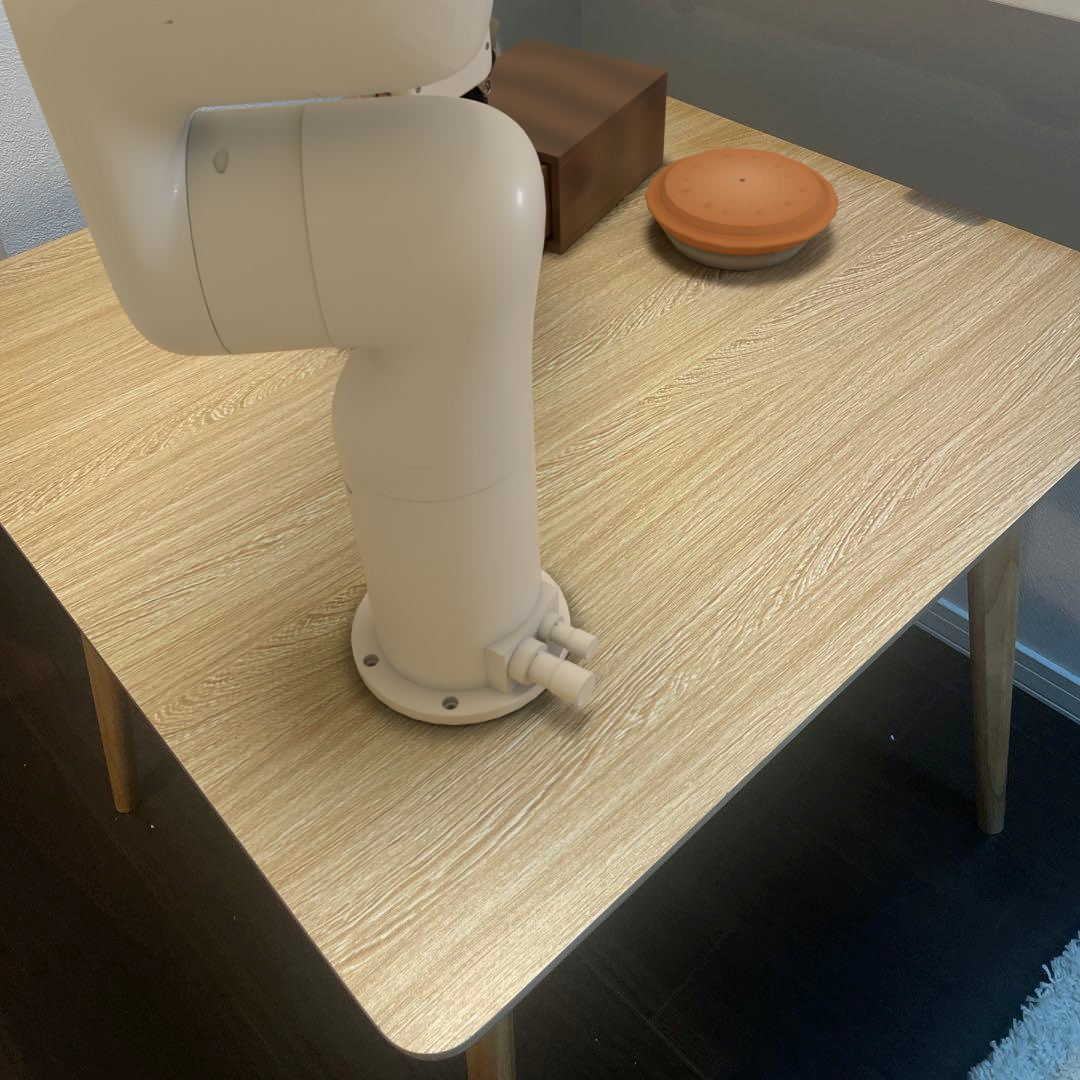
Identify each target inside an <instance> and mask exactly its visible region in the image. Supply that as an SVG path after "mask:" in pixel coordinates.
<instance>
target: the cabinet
mask: <svg viewBox="0 0 1080 1080" xmlns="http://www.w3.org/2000/svg"><path fill="white" fill-rule="evenodd" d="M668 74H669V71H668V70H666V69H662V68H660V67H659V68H658V67H654V66H650V65H645V64H642V63H638V62H637V63H636V62H634V61H629V60H624V59H620V58H616V57H612V56H608V55H603V54H599V53H595V52H591V51H587V50H582V49H578V48H575V47H570V46H567V45H566V46H565V45H561V44H557V43H553V42H549V41H544V40H540V39H536V38H531V37H527V36H526V37H525V38H524V39H522V40H521V41H519V42H517V43H516V44H514V45H513V46H512V47H510V48H508V49H507V50H506V51H504V52H503V53H501V54H499V55H498V56H496V60H495V63H494V66H493V68H492V71H491V74H490V77H489V78H490V80H491V82H492V88H491V91H490V93H489V94H488V95H484V96H485V97H488V105H489V106H491V107H494V108H496V109H498V110H499V111H501V112H503V113H504V114H506V115H507V116H509V117H510V118H511V119H513V120H514V121H515V122H516V123H517V124H518V125H519V126H520V127H521V128H522V129H523V130H524V132H525V133H526V135H527V136H528V138H529V139H530V141H531V142H532V144H533V146H534V148H535V150H536V153H537V156H538V159H539V161H542V162H545V163H549V164H551V189H552V225H553V233H551V234H550V235H549V236H548V237H547V238H546V239H544V246H543V250H547V251H549V252H554V253H556V254H559V255H562V254H563V253H564V252H565V251H566V250H568V249H569V248H570V247H571V246H572V245H573V244H574V243H575V242H576V241H578V240H579V239H580V238H581V237H582V236H583V235H585V233H586V232H588V231H589V230H590V229H591V228H592V227H593V226H594V225H596V224H597V223H598V222H599V221H600V220H601V219H603V217H605V216H606V215H607V214H608V213H610V211H611V210H612V209H613V208H615V207H616V206H617V205H618V204H619V203H621V202H622V201H623V200H625V198H626V197H627V196H628V195H629V194H631V192H633V191H634V190H635V189H636V188H637V187H638V186H640V185H641V184H642V183H644V181H645V180H647V179H648V178H649V177H650V176H651V175H652V174H654V173H655V171H656V170H657V169H659V168H660V167H662V165H663V164H664V153H665V152H664V151H665V132H666V115H667V95H668V93H667V92H668V77H669V76H668Z"/></svg>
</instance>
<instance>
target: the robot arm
mask: <svg viewBox="0 0 1080 1080" xmlns="http://www.w3.org/2000/svg"><path fill="white" fill-rule="evenodd" d="M1 3H2V6H3V10H4V13H5V16H6V18H7V22H8V24H9V26H10V31H11V33H12V36H13V38H14V42H15V44H16V48H17V50H18V52H19V56H20V59H21V61H22V64H23V66H24V69H25V72H26V74H27V77H28V80H29V81H30V84H31V87H32V89H33V91H34V94H35V97H36V99H37V102H38V103H39V107H40V110H41V112H42V115H43V117H44V119H45V122H46V124H47V127H48V129H49V133H50V135H51V137H52V140H53V143H54V145H55V147H56V150H57V152H58V155H59V157H60V160H61V162H62V166H63V167H64V170H65V172H66V175H67V178H68V180H69V182H70V185H71V187H72V190H73V193H74V195H75V198H76V201H77V202H78V205H79V208H80V210H81V213H82V215H83V218H84V220H85V222H86V225H87V227H88V230H89V233H90V235H91V238H92V240H93V243H94V245H95V248H96V250H97V253H98V256H99V258H100V261H101V263H102V265H103V268H104V270H105V272H106V275H107V277H108V280H109V283H110V284H111V287H112V290H113V291H114V293H115V295H116V298H117V300H118V302H119V304H120V306H121V308H122V309H123V311H124V313H125V314H126V316H127V317H128V319H129V321H130V323H131V324H132V326H133V327H134V328H135V329H136V331H138V333H139V334H140V335H141V337H143V338H145V339H146V341H148V342H149V343H150V344H153V345H154V346H156V347H157V348H159V349H161V350H163V351H166V352H168V353H172V354H175V355H181V356H188V357H219V356H234V355H236V356H240V355H253V354H267V353H279V352H294V351H306V350H319V349H331V348H332V349H333V348H335V349H337V350H338V349H340V350H341V349H352V350H351V352H350V353H349V355H348V357H347V359H346V361H345V363H344V365H343V367H342V369H341V371H340V374H339V376H338V378H337V381H336V385H335V388H334V393H333V397H332V402H331V415H330V416H331V420H330V422H331V432H332V438H333V442H334V447H335V451H336V455H337V459H338V463H339V468H340V472H341V477H342V482H343V485H344V491H345V495H346V500H347V504H348V508H349V509H348V510H349V513H350V517H351V522H352V527H353V532H354V536H355V540H356V544H357V549H358V554H359V559H360V563H361V568H362V573H363V575H364V580H365V586H366V590H367V591H366V593H365V594H364V596H363V597H362V599H361V601H360V603H359V604H358V606H357V608H356V611H355V614H354V617H353V620H352V623H351V632H350V633H351V635H350V642H351V648H352V655H353V659H354V663H355V665H356V669H357V672H358V674H359V675H360V677H361V679H362V681H363V682H364V684H365V686H366V687H367V689H368V690H369V691H370V692H371V693H372V695H374V696H375V697H376V698H377V699H378V700H379V701H380V702H382V703H383V704H385V705H386V706H387V707H389V708H391V710H393V711H395V712H397V713H399V714H402V715H403V716H406V717H409V718H411V719H414V720H418V721H421V722H426V723H430V724H435V725H451V726H453V725H454V726H459V725H469V724H470V725H471V724H479V723H483V722H487V721H490V720H494V719H498V718H501V717H503V716H505V715H508V714H510V713H512V712H515V711H517V710H519V709H521V708H523V707H524V706H525V705H527V704H528V703H530V702H531V701H534V700H535V699H536V698H538V696H539V695H540V694H541V693H543V692H544V691H545V690H546V689H547V690H548V691H549V692H550V693H551V694H553V695H554V696H557V697H559V698H561V699H563V700H565V701H566V702H569V703H571V704H572V705H574V706H576V707H578V708H581V707H582V706H584V705H585V704H586V703H587V702H588V700H589V699H590V697H591V695H592V694H593V691H594V688H595V686H596V682H597V676H596V674H595V673H594V672H592V671H590V670H588V669H586V668H584V667H582V666H580V665H578V664H575V663H573V662H571V661H570V660H567V659H566V658H567V656H568V654H569V653H570V654H572V655H575V656H577V657H579V658H580V659H583V660H585V661H589V660H590V659H591V658H592V657H593V656H594V655H595V653H596V651H597V649H598V647H599V640H600V639H599V638H598V636H595V635H594V634H592V633H589V632H588V631H585V630H583V629H581V628H579V627H578V628H576V627H574V626H572V625H571V616H570V611H569V606H568V601H567V600H566V598H565V596H564V594H563V591H562V589H561V587H560V586H559V585H558V584H557V583H556V582H555V580H554V579H553V577H552V576H551V575H550V574H549V573H548V572H547V571H545V570H544V569H543V568H542V562H541V544H540V543H541V541H540V524H539V505H538V504H539V503H538V482H537V481H538V480H537V466H536V465H537V463H536V462H537V461H536V443H535V420H534V419H535V418H534V417H535V416H534V396H533V392H534V391H533V345H534V344H533V342H534V341H533V339H534V325H535V312H536V304H537V297H538V290H539V283H540V282H539V281H540V275H541V268H542V260H543V252H544V248H543V246H544V235H545V218H546V203H545V189H544V179H543V174H542V170H541V166H540V162H539V159H538V156H537V153H536V150H535V148H534V146H533V144H532V142H531V141H530V139H529V138H528V136H527V135H526V133H525V132H524V130H523V129H522V128H521V127H520V126H519V125H518V124H517V123H516V122H515V121H514V120H513V119H511V118H510V117H509V116H507V115H506V114H504V113H503V112H501V111H499V110H498V109H496V108H494V107H491V106H489V105H488V97H485V96H484V95H488V94H489V93H490V91H491V88H492V82H491V80H490V78H489V77H490V74H491V71H492V68H493V66H494V63H495V60H496V58H497V54H496V51H495V49H496V45H497V42H498V37H499V31H500V21H499V20H498V19H496V18H493V17H492V13H493V12H492V11H493V7H494V0H1ZM332 98H342V99H335V100H331V99H332ZM319 99H330V100H320V101H318V100H319ZM305 100H306V102H305V103H295V104H280V105H267V106H250V107H237V108H236V107H235V108H225V109H224V108H223V109H210V110H209V109H208V110H207V109H206V110H200V108H211V107H226V106H227V107H228V106H238V105H240V106H241V105H252V104H265V103H266V104H267V103H279V102H293V101H305ZM307 100H317V101H307Z"/></svg>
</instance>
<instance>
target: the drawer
mask: <svg viewBox="0 0 1080 1080" xmlns="http://www.w3.org/2000/svg"><path fill="white" fill-rule="evenodd" d="M539 162H540V166H541V170H542V174H543V179H544V189H545V203H546V218H545V235H544V239H546V238H547V237H548V236H549V235H550V234H551V233H553V225H552V189H551V164H549V163H545V162H542V161H539Z"/></svg>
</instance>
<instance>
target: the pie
mask: <svg viewBox="0 0 1080 1080" xmlns="http://www.w3.org/2000/svg"><path fill="white" fill-rule="evenodd" d="M647 186H648V187H647V188H646V190H645V193H644V197H645V202H646V206H647V210H648V211H649V213H651V215H652V216H653V218H654V219H655V220H656V223H657V224H658V225H660V227H661V229H662V230H663V232H664V233H665V235H666V237H667V238H668V239H669V241H670V242H671V244H672V245H673V247H675V249H676V250H677V251H678V252H679V253H681V254H682V255H683V256H685V257H686V258H688V259H689V260H691V261H693V262H696V263H698V264H701V265H703V266H706V267H710V268H716V269H721V270H725V271H745V272H747V271H754V270H763V269H767V268H771V267H773V266H777V265H781V264H783V263H785V262H786V261H788V260H789V259H792V258H793V257H795V256H796V255H797V254H798V253H799V252H800V250H802V248H804V246H805V245H806V244H807V243H808V242H809V241H810V240H811V239H812V238H814V237H816V236H817V235H818V234H820V233H821V232H823V231H825V229H826V228H827V227H828V226H829V225H830V223H831V222H832V220H833V219H834V218H835V217H836V216H837V212H838V207H839V202H840V199H839V197H838V195H837V193H836V191H835V188H834V186H833V184H832V183H831V182H830V181H829V180H827V178H826V177H825V176H823V175H822V174H821V173H820V172H818V171H817V170H815V169H814V168H811V167H810V166H808V165H806V164H804V163H803V162H801V161H800V160H796V159H793V158H791V157H788V156H785V155H783V154H780V153H776V152H773V151H768V150H767V151H766V150H761V149H755V148H737V147H736V148H733V147H732V148H730V147H729V148H722V149H713V150H708V151H705V152H699V153H697V154H693V155H690V156H686V157H682V158H679V159H677V160H676V161H674V162H671V163H670V164H667V165H666V166H664V167H663V168H661V169H660V170H659V171H658V172H657V174H655V176H653V178H652V179H651V181H650V183H649V184H648V185H647Z"/></svg>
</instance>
